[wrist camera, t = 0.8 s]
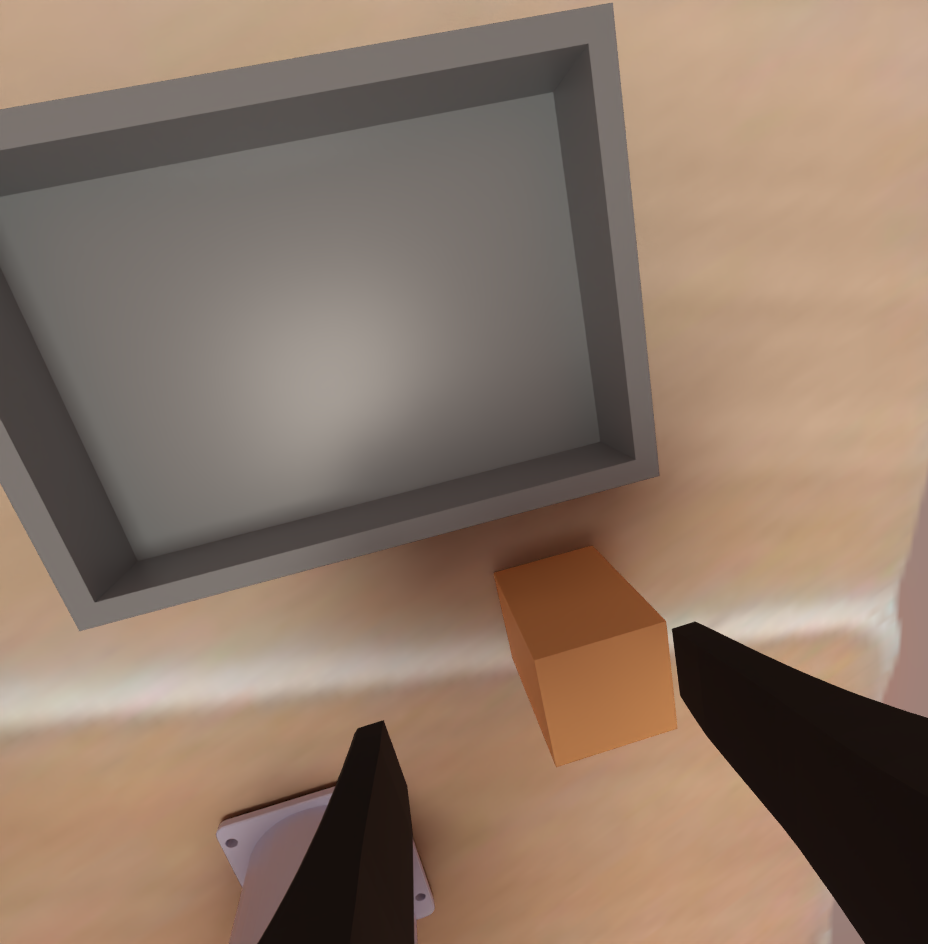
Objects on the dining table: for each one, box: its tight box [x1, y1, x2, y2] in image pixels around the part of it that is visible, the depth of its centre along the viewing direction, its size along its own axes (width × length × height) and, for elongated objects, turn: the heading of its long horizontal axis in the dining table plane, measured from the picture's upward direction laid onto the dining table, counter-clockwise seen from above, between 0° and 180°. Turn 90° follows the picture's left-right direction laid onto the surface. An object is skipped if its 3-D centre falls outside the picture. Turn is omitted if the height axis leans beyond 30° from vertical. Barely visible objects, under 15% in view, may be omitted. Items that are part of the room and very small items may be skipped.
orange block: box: [494, 546, 677, 767], centre depth 19 cm, size 4×4×6 cm
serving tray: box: [0, 3, 660, 631], centre depth 16 cm, size 14×20×4 cm
